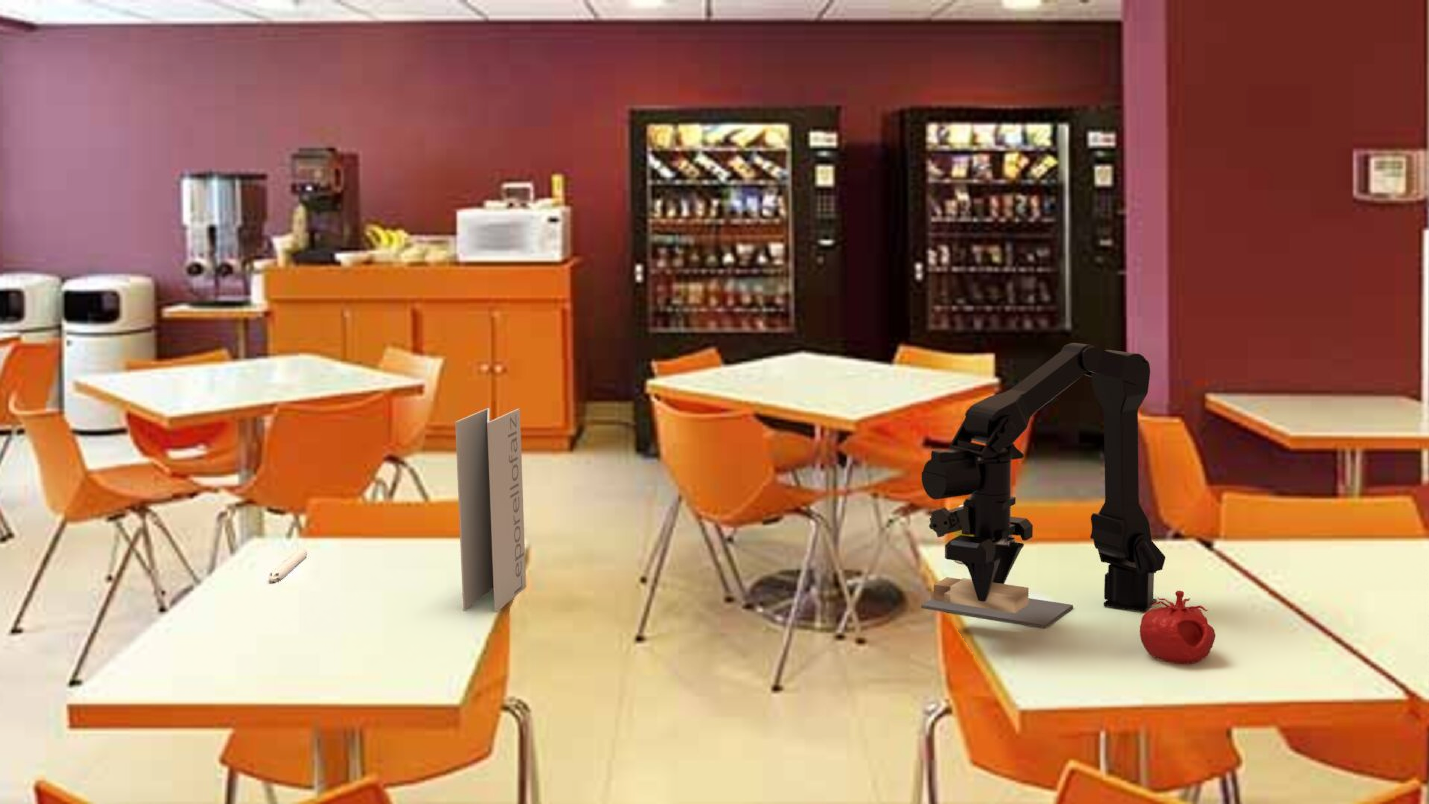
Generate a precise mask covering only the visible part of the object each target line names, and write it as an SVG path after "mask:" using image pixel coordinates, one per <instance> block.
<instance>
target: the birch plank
mask: <svg viewBox="0 0 1429 804" xmlns="http://www.w3.org/2000/svg"><path fill="white" fill-rule="evenodd" d="M961 579H962V580H960V581H959V582H957V583H955V584H953V585H952V586H950V590H949V591H948V592H946V593H944V601H949V602H950V603H955V604H961V605H967V606H973V607H980V608H986V609H992V610H999V611H1005V612H1011V613H1016V612H1018V611H1019V610H1021V609H1022V608H1024V607H1025V606H1027V605H1028V598H1029V592H1030V591H1029V587H1026V586H1020V585H1015V584H1014V585H1013V584H1006V583H1004V584H1000V583H992V586H991V588H990V591H989V594H988V597H987V599H986V601H984V602H983V601H979V600H978V599H977V595H976V592H975V589H974V585H973V582H972V579H971V578H965V577H964V578H961Z"/></svg>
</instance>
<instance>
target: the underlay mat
mask: <svg viewBox="0 0 1429 804" xmlns="http://www.w3.org/2000/svg"><path fill="white" fill-rule="evenodd" d="M920 608H921V609H925V610H931V611H937V612H941V613H948V614H955V615H961V616H966V617H967V616H968V617H972V618H973V617H974V618H980V619H986V620H992V621H998V622H1003V623H1004V622H1005V623H1010V624H1011V623H1012V624H1017V625H1022V626H1023V625H1024V626H1029V627H1035V628H1041V629H1046V628H1048V627H1049V626H1050V625H1052V624H1053V623H1055V622H1056V621H1057V620H1058V619H1060V618H1061V617H1062V616H1064V615H1065V614H1067V613H1068V612H1070V611H1071V610H1073V608H1074V604H1070V603H1063V602H1056V601H1051V600H1050V601H1049V600H1043V599H1038V598H1031V597H1028V605H1027V606H1025V607H1024V608H1022V609H1021V610H1019V611H1018V612H1016V613H1011V612H1005V611H999V610H992V609H986V608H980V607H973V606H967V605H961V604H955V603H950V602H943V601H937V600H934V597H933V598H931V599H929V600H927V601H926V602H924V603H922V604H921V605H920Z"/></svg>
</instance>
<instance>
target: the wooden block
mask: <svg viewBox="0 0 1429 804" xmlns="http://www.w3.org/2000/svg"><path fill="white" fill-rule="evenodd" d="M962 579H963V578H955V577H948V576H947V577H944V578H943V579H941V580H940V581H938V582H936V583H934V584H933V598H934V600H937V601H943V602H949V601H944V593H946V592H948V591H949V590H950V586H952V585H953V584H955V583H957V582H959V581H960V580H962Z"/></svg>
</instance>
